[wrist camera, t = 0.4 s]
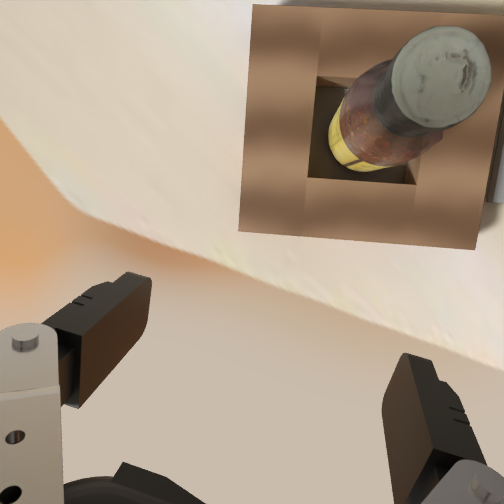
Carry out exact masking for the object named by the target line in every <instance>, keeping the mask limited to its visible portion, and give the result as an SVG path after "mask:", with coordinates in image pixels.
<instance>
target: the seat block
mask: <svg viewBox="0 0 504 504" xmlns="http://www.w3.org/2000/svg"><path fill="white" fill-rule="evenodd" d="M435 26H458V27H461V28H464V29H467V30H469V31H470V32H472V33H474V34H475V35H476V36H477V37H478V39H479V40H480V41H481V42H482V43H483V44H484V46H485V48H486V50H487V52H488V54H489V57H490V62H491V73H492V80H491V85H490V89H489V91H488V93H487V94H486V97H485V99H484V102H483V103H482V104H481V105H480V106H479V108H478V109H477V110H476V112H475V113H473V114H472V115H471V116H470V117H468V118H467V119H466V120H464V121H462V122H461V123H459V124H457V125H456V126H454V127H452V128H449V129H446V130H443V138H442V140H441V141H440V142H438V143H436V144H435V145H433V146H432V147H431V148H430V149H429V150H428V151H426V152H425V153H423V154H421V155H419V156H418V157H417V158H414V159H412V160H410V161H408V162H407V167H406V174H405V181H404V184H394V183H380V182H365V181H351V180H337V179H323V178H308V177H307V175H308V164H309V154H310V143H311V132H312V122H313V111H314V101H315V90H316V86H321V87H339V88H350V87H351V86H352V85H353V83H354V81H355V80H356V79H357V78H358V77H359V76H360V75H362V74H363V73H364V72H366V71H367V70H369V69H370V68H372V67H373V66H375V65H377V64H379V63H381V62H384V61H386V60H390V59H393V58H394V56H395V55H396V54H397V53H398V51H399V50H400V49H401V48H402V47H403V46H404V45H405V44H406V43H407V42H408V41H409V40H410V39H411V38H413V37H414V36H415V35H417V34H419V33H421V32H422V31H424V30H427V29H429V28H431V27H435ZM503 91H504V15H489V14H466V13H443V12H420V11H397V10H374V9H351V8H328V7H305V6H282V5H259V4H253V9H252V24H251V40H250V56H249V71H248V87H247V103H246V119H245V134H244V150H243V166H242V181H241V197H240V213H239V229H238V231H241V232H253V233H266V234H278V235H291V236H304V237H316V238H329V239H341V240H354V241H366V242H379V243H391V244H404V245H417V246H429V247H442V248H454V249H467V250H475V248H476V242H477V236H478V231H479V225H480V220H481V214H482V208H483V203H484V197H485V192H486V186H487V180H488V175H489V169H490V164H491V158H492V153H493V147H494V141H495V136H496V130H497V125H498V119H499V113H500V108H501V102H502V97H503Z"/></svg>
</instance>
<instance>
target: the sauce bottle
mask: <svg viewBox="0 0 504 504" xmlns="http://www.w3.org/2000/svg"><path fill="white" fill-rule="evenodd" d="M491 80H492V73H491V62H490V57H489V54H488V52H487V50H486V48H485V46H484V44H483V43H482V42H481V41H480V40H479V39H478V37H477V36H476V35H475V34H474V33H472V32H470V31H469V30H467V29H464V28H461V27H458V26H435V27H431V28H429V29H427V30H424V31H422V32H421V33H419V34H417V35H415V36H414V37H413V38H411V39H410V40H409V41H408V42H407V43H406V44H405V45H404V46H403V47H402V48H401V49H400V50H399V51H398V53H397V54H396V55H395V56H394V58H393V59H390V60H386V61H384V62H381V63H379V64H377V65H375V66H373V67H372V68H370V69H369V70H367V71H366V72H364V73H363V74H362V75H360V76H359V77H358V78H357V79H356V80H355V81H354V83H353V85H352V86H351V87H350V89H349V90H348V91H347V93H346V95H345V97H344V99H343V100H342V102H341V104H340V106H339V108H338V110H337V112H336V113H335V115H334V117H333V119H332V121H331V123H330V126H329V133H328V138H329V148H330V149H331V151H332V153H333V155H334V156H335V158H336V159H337V160H338V161H339V162H340V163H341V164H342V165H343V166H344V167H346V168H349V169H351V170H355V171H360V172H369V171H374V170H378V169H382V168H387V167H392V166H396V165H400V164H403V163H405V162H408V161H410V160H412V159H414V158H417V157H418V156H419V155H421V154H423V153H425V152H426V151H428V150H429V149H430V148H431V147H432V146H433V145H435V144H436V143H438V142H440V141H441V140H442V138H443V130H446V129H449V128H452V127H454V126H456V125H457V124H459V123H461V122H462V121H464V120H466V119H467V118H468V117H470V116H471V115H472V114H473V113H475V112H476V110H477V109H478V108H479V106H480V105H481V104H482V103H483V102H484V99H485V97H486V94H487V93H488V91H489V89H490V85H491Z"/></svg>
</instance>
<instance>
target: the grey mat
mask: <svg viewBox="0 0 504 504" xmlns="http://www.w3.org/2000/svg"><path fill="white" fill-rule="evenodd" d="M487 202H495V203H504V110H503V115H502V121H501V126H500V132H499V138H498V143H497V149H496V154H495V160H494V165H493V171H492V176H491V182H490V187H489V193H488V199H487Z"/></svg>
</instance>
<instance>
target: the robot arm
mask: <svg viewBox="0 0 504 504" xmlns="http://www.w3.org/2000/svg"><path fill="white" fill-rule="evenodd" d="M151 287H152V280H151V278H149V277H145V276H142V275H138V274H135V273H132V272H126V273H125V274H123V275H122V276H121V277H119V278H118V279H117V280H116V281H115V282H113V283H111V282H104V283H101V284H98V285H96V286H92V287H91V288H90V289H88V290H87V291H85V292H84V293H83V294H81V296H78V297H77V298H76V299H74V300H73V301H72V303H69V304H67V305H66V306H65V307H63V308H62V309H60V310H59V311H58V312H56V313H55V314H54V315H52V316H51V317H49V318H48V319H47V320H46V321H44V322H43V323H41V324H38V323H23V324H17V325H13V326H10V327H8V328H5V329H3V330H2V331H0V504H205V503H204V502H202V501H201V500H199V499H198V498H196V497H195V496H193V495H192V494H190V493H189V492H188V491H186V490H185V489H183V488H182V487H180V486H179V485H177V484H176V483H174V482H173V481H171V480H170V479H168V478H167V477H165V476H162V475H159V474H156V473H153V472H150V471H148V470H145V469H142V468H139V467H136V466H133V465H130V464H128V463H125V462H122V464H121V466H120V467H119V469H118V471H117V472H116V474H115V475H114V477H110V476H101V477H90V478H84V479H80V480H76V481H72V482H69V483H66V484H63V459H62V430H61V406H62V405H63V404H66V405H68V406H71V407H74V408H77V409H79V408H80V407H81V406H82V404H83V403H84V402H85V401H86V400H87V399H88V398H89V397H90V395H91V394H92V393H93V392H94V391H95V390H96V388H97V387H98V386H99V385H100V384H101V383H102V381H103V380H104V379H105V378H106V377H107V376H108V374H109V373H110V372H111V371H112V370H113V369H114V368H115V367H116V365H117V364H118V363H119V362H120V361H121V360H122V358H123V357H124V356H125V355H126V354H127V353H128V351H129V350H130V349H131V348H132V347H133V346H134V344H135V343H136V342H137V341H138V340H139V339H140V337H141V336H142V334H143V332H144V330H145V327H146V324H147V320H148V313H149V304H150V296H151ZM464 412H465V410H464V408H463V406H462V403H461V401H460V398H459V396H458V395H457V394H456V393H455V392H454V391H453V389H452V388H451V387H450V386H449V385H448V384H447V382H443V381H440V380H439V379H438V377H437V374H436V371H435V368H434V365H433V363H432V361H431V360H428V359H425V358H422V357H418V356H415V355H411V354H408V353H403V354H402V356H401V357H400V359H399V362H398V364H397V366H396V368H395V371H394V373H393V375H392V378H391V380H390V382H389V385H388V387H387V389H386V392H385V394H384V398H383V403H382V418H383V426H384V433H385V441H386V448H387V455H388V462H389V469H390V476H391V484H392V491H393V497H394V504H504V477H503V476H501V475H500V474H499V473H498V472H496V471H495V470H493V469H492V468H490V467H488V466H487V464H486V461H485V459H484V456H483V454H482V451H481V449H480V446H479V444H478V442H477V439H476V437H475V434H474V432H473V430H472V427H471V426H469V425H470V422H469V420H468V418H467V415H466V414H465V413H464Z"/></svg>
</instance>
